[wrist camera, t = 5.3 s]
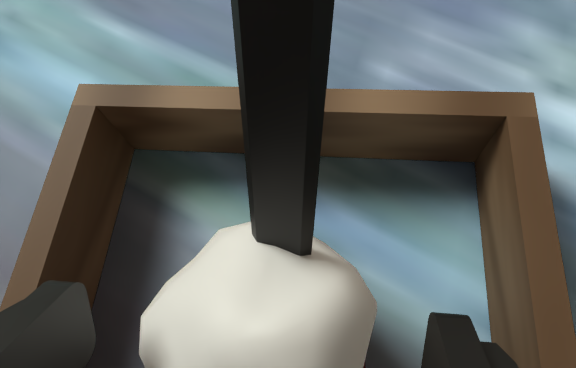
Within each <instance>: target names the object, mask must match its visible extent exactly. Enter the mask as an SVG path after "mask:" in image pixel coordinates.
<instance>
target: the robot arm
mask: <svg viewBox="0 0 576 368" xmlns="http://www.w3.org/2000/svg"><path fill="white" fill-rule="evenodd" d="M95 343H96V333H95V328H94V323H93V318H92V314H91V309H90V304H89V299H88V295H87V290H86V288H85V286H84V285H83V284H82V283H80V282H68V281H55V280H48V281H46V282H44V283H43V284H41V285H40V286H39V287H38V288H37V289H36V290H34V291H33V292H32V293H31V294H30V295H29V296H27V297H26V298H25V299H24V300H21V301H19V302H17V303H16V304H14V305H12V306H10V307H8V308H6V309H4V310H3V311H1V312H0V368H84V367H85V366H86V364H87V363H88V361H89V360H90V358H91V356H92V354H93V351H94V348H95ZM421 368H519V367H518V365H517V363H516V362H515V361H514V360H513V359H512V358H511V357H510V356H509V355H508V354H507V353H506V352H505V351H504V350H503V349H502V348H501V347H500V346H499V345H498V344H497V343H491V342H480V340H479V338H478V336H477V333H476V331H475V328H474V326H473V324H472V321H471V319H470V317H469V316H468V315H459V314H447V313H435V312H431V313H430V315H429V319H428V325H427V331H426V338H425V345H424V351H423V358H422V365H421Z"/></svg>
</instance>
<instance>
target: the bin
mask: <svg viewBox="0 0 576 368" xmlns="http://www.w3.org/2000/svg"><path fill="white" fill-rule="evenodd" d="M134 149H143V150H169V151H195V152H221V153H245V151H244V140H243V129H242V118H241V107H240V96H239V87H212V86H159V85H107V84H79V85H78V88H77V91H76V94H75V97H74V100H73V102H72V105H71V108H70V111H69V114H68V117H67V120H66V122H65V125H64V128H63V131H62V134H61V137H60V139H59V142H58V145H57V148H56V151H55V154H54V156H53V159H52V162H51V165H50V168H49V171H48V173H47V176H46V179H45V182H44V185H43V188H42V191H41V193H40V196H39V199H38V202H37V205H36V208H35V210H34V213H33V216H32V219H31V222H30V225H29V227H28V230H27V233H26V236H25V239H24V242H23V245H22V247H21V250H20V253H19V256H18V259H17V262H16V264H15V267H14V270H13V273H12V276H11V279H10V281H9V284H8V287H7V290H6V293H5V296H4V298H3V301H2V304H1V307H0V312H1V311H3V310H4V309H6V308H8V307H10V306H12V305H14V304H16V303H17V302H19V301H21V300H24V299H25V298H26V297H27V296H29V295H30V294H31V293H32V292H33V291H34V290H36V289H37V288H38V287H39V286H40V285H41V284H43V283H44V282H46V281H48V280H55V281H68V282H80V283H82V284H83V285H84V286H85V288H86V290H87V295H88V299H89V304H90V309H91V310H92V306H93V303H94V299H95V295H96V291H97V288H98V284H99V280H100V276H101V273H102V269H103V265H104V261H105V258H106V254H107V250H108V247H109V243H110V239H111V235H112V232H113V228H114V224H115V220H116V217H117V213H118V209H119V205H120V202H121V198H122V194H123V191H124V187H125V183H126V179H127V176H128V172H129V168H130V164H131V161H132V157H133V153H134ZM320 156H324V157H350V158H376V159H401V160H427V161H453V162H474V163H475V174H476V184H477V195H478V205H479V215H480V226H481V236H482V247H483V257H484V268H485V278H486V289H487V299H488V310H489V320H490V331H491V341H492V343H497V344H498V345H499V346H500V347H501V348H502V349H503V350H504V351H505V352H506V353H507V354H508V355H509V356H510V357H511V358H512V359H513V360H514V361H515V362H516V363H517V365H518V367H519V368H576V337H575V331H574V325H573V319H572V314H571V308H570V302H569V296H568V290H567V284H566V278H565V273H564V267H563V261H562V255H561V249H560V243H559V237H558V232H557V226H556V220H555V214H554V208H553V202H552V196H551V191H550V185H549V179H548V173H547V167H546V161H545V155H544V150H543V144H542V138H541V132H540V126H539V120H538V114H537V109H536V103H535V97H534V93H526V92H474V91H421V90H369V89H326V98H325V109H324V120H323V131H322V142H321V153H320Z"/></svg>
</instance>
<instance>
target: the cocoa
mask: <svg viewBox="0 0 576 368" xmlns="http://www.w3.org/2000/svg"><path fill="white" fill-rule="evenodd" d="M231 7H232V18H233V29H234V40H235V51H236V63H237V74H238V85H239V96H240V107H241V118H242V129H243V140H244V151H245V162H246V173H247V185H248V196H249V207H250V218H251V222H247V223H243V224H239V225H235V226H231V227H226V228H222V229H219V230H218V231H217V233H216V234H215V235H214V236H213V237H212V238H211V239H210V241H209V242H208V243H207V244H206V245H205V246H204V248H203V249H202V250H201V251H200V252H199V253H198V254H197V256H196V257H195V258H194V259H193V260H191V261H190V262H189V263H188V264H187V265H186V266H184V267H183V268H182V269H181V270H180V271H179V272H177V273H176V274H175V275H174V276H173V277H172V278H170V279H169V280H168V281H167V282H166V283H165V284H164V286H163V287H162V288H161V290H160V291H159V292H158V294H157V295H156V296H155V298H154V299H153V300H152V302H151V303H150V305H149V306H148V307H147V309H146V310H145V311H144V313H143V314H142V315H141V323H140V341H139V355H140V358H141V360H142V362H143V364H144V367H145V368H365V358H366V354H367V350H368V346H369V342H370V338H371V334H372V330H373V326H374V322H375V318H376V314H377V302H376V300H375V299H374V297H373V295H372V294H371V292H370V290H369V289H368V287H367V285H366V284H365V282H364V280H363V279H362V277H361V275H360V274H359V272H358V271H357V269H356V268H355V267H354V266H353V265H351V264H350V263H349V262H348V261H346V260H345V259H344V258H343V257H342V256H340V255H339V254H338V253H337V252H335V251H334V250H333V249H332V248H330V247H329V246H328V245H327V244H325V243H324V242H322V241H320V240H319V239H317V238H315V237H314V236H313V230H314V219H315V208H316V197H317V186H318V175H319V164H320V153H321V142H322V131H323V120H324V109H325V98H326V87H327V76H328V65H329V54H330V43H331V32H332V21H333V10H334V0H231Z"/></svg>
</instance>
